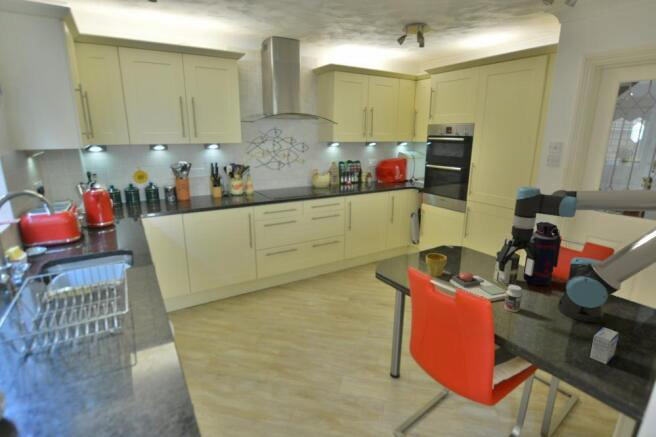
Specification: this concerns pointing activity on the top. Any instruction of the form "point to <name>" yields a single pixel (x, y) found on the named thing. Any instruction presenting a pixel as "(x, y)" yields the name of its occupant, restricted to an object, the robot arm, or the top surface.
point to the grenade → (544, 254)
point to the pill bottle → (513, 298)
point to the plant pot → (435, 264)
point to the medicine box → (604, 345)
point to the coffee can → (508, 270)
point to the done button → (466, 277)
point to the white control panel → (480, 288)
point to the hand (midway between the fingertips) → (515, 276)
